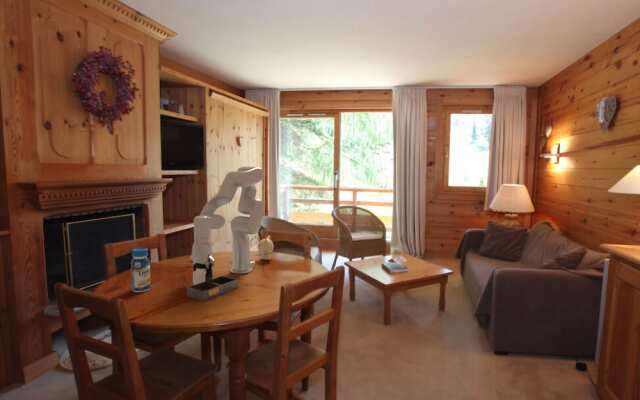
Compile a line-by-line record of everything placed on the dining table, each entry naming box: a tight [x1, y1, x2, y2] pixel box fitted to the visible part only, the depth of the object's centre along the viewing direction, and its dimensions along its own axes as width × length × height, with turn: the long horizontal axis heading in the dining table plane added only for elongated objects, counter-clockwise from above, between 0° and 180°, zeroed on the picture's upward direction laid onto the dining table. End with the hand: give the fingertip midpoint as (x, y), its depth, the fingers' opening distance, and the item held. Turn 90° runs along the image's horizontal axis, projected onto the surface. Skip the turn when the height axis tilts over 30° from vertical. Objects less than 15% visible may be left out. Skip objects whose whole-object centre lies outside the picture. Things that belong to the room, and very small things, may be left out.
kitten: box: [257, 235, 275, 261], centre depth 236 cm, size 15×10×15 cm
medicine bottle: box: [192, 261, 213, 286], centre depth 186 cm, size 7×7×12 cm
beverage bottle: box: [130, 247, 152, 293], centre depth 176 cm, size 8×8×20 cm
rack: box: [186, 275, 239, 302], centre depth 175 cm, size 22×12×4 cm, turn 149°
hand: (202, 273), depth 186 cm, fingers closed on medicine bottle, 8 cm apart
